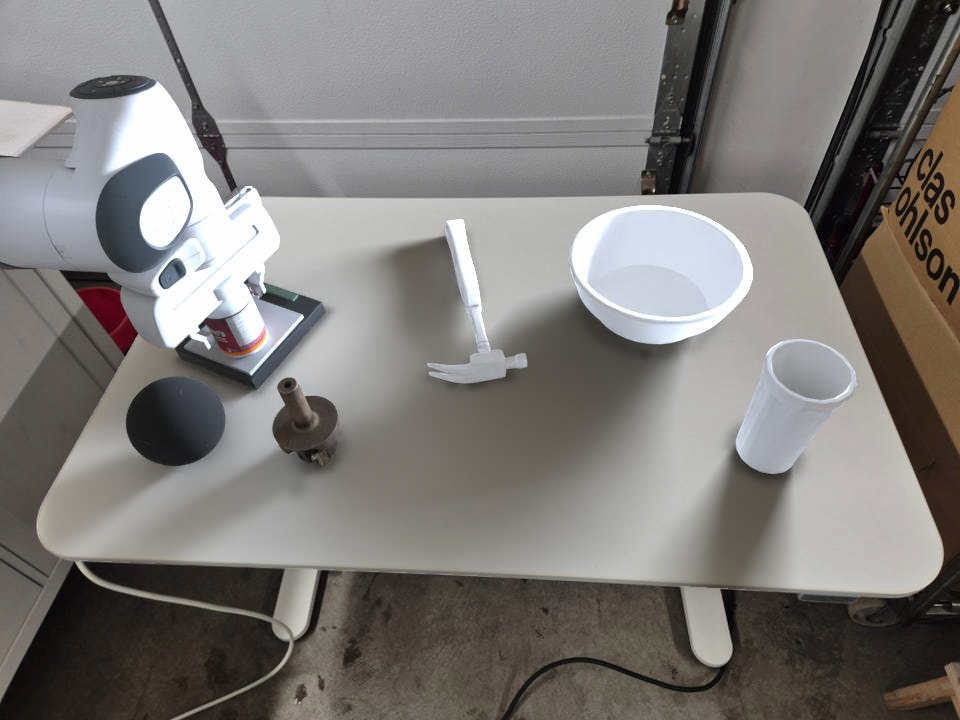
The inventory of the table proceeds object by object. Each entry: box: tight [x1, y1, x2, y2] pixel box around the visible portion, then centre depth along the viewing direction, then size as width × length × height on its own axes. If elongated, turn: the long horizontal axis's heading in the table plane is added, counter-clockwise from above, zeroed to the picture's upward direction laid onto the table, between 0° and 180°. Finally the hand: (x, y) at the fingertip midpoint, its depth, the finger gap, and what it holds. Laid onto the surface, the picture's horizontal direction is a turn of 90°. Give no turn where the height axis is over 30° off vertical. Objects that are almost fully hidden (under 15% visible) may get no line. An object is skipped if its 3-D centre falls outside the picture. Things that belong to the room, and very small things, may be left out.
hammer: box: [427, 218, 528, 384], centre depth 84 cm, size 12×30×3 cm, turn 10°
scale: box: [174, 278, 326, 391], centre depth 82 cm, size 15×13×3 cm
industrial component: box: [271, 376, 342, 466], centre depth 66 cm, size 9×7×12 cm
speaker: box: [125, 375, 227, 467], centre depth 68 cm, size 10×10×10 cm
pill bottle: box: [203, 271, 268, 358], centre depth 75 cm, size 6×6×11 cm
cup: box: [735, 338, 858, 475], centre depth 62 cm, size 8×8×14 cm
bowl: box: [568, 205, 753, 345], centre depth 80 cm, size 22×22×8 cm
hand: (233, 318), depth 76 cm, fingers open, 8 cm apart
